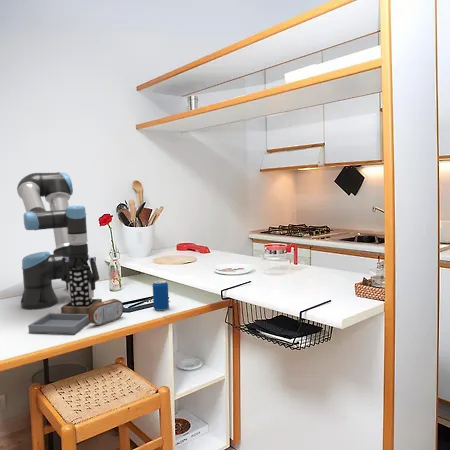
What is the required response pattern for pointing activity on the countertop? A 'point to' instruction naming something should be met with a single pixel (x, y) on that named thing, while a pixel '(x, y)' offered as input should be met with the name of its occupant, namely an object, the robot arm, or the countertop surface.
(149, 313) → the countertop surface
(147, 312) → the countertop surface
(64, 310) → the holder
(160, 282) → the beverage can
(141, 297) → the countertop surface
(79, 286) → the white-spotted black cylinder
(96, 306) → the tin
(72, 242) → the robot arm
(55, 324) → the tray
